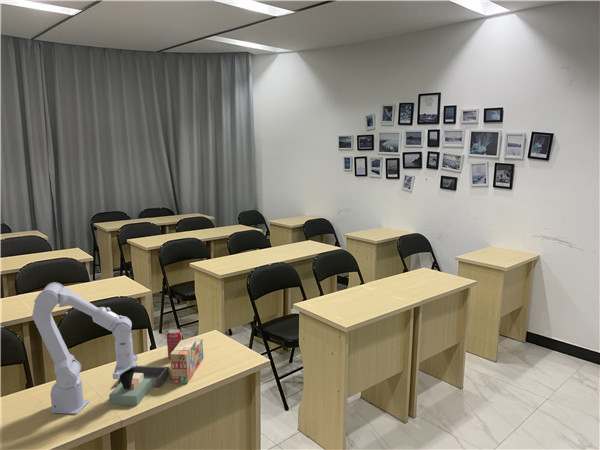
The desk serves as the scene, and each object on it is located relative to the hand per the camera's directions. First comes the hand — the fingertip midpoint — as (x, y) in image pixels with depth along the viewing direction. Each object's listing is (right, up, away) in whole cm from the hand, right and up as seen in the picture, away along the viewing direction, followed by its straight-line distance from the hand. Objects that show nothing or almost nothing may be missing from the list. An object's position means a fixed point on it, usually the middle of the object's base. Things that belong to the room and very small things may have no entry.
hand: (127, 388), depth 162 cm
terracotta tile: (0, 0, +3) cm, 3 cm away
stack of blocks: (+16, -1, +22) cm, 28 cm away
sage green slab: (0, -4, +3) cm, 5 cm away
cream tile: (+1, 0, +7) cm, 7 cm away
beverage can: (+8, +1, +33) cm, 34 cm away
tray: (+1, -2, +14) cm, 14 cm away
